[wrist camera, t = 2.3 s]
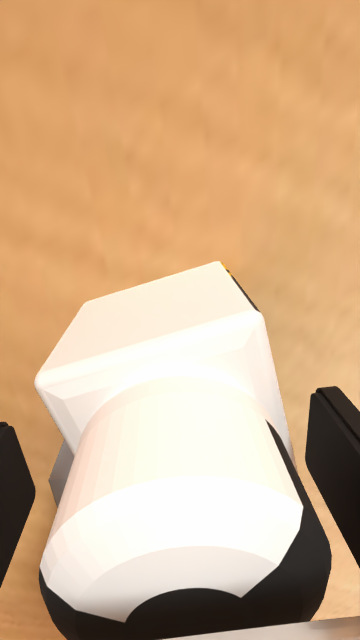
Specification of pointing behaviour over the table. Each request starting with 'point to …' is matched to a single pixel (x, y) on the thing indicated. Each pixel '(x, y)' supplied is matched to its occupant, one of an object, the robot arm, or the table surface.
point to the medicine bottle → (176, 470)
